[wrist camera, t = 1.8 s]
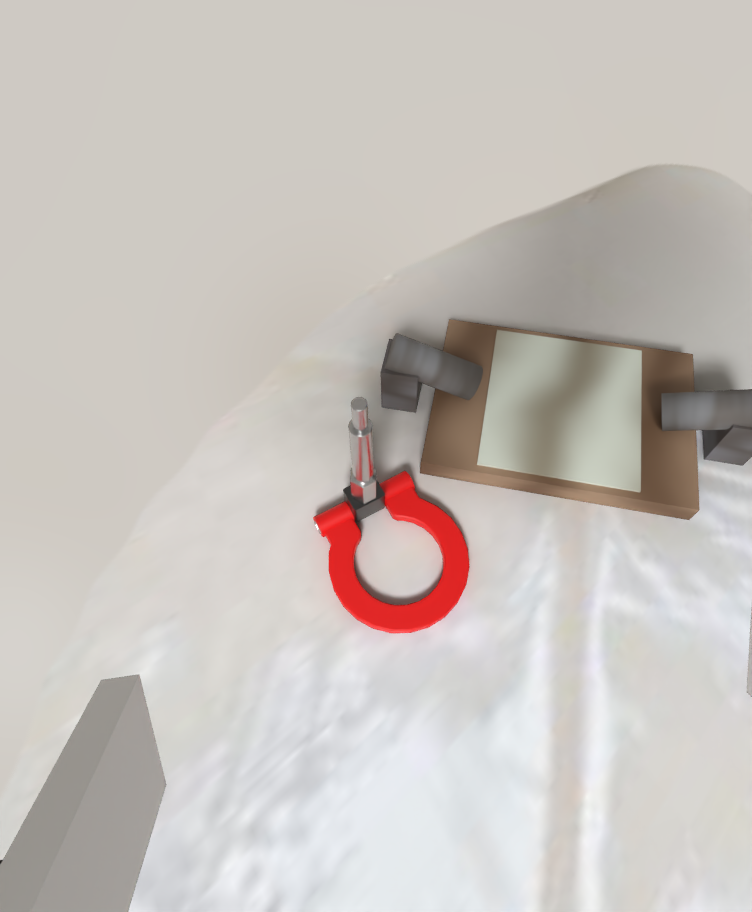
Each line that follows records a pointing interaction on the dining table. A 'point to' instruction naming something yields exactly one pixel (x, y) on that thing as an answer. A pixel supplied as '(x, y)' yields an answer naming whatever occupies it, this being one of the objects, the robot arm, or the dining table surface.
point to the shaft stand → (567, 416)
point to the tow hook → (402, 506)
